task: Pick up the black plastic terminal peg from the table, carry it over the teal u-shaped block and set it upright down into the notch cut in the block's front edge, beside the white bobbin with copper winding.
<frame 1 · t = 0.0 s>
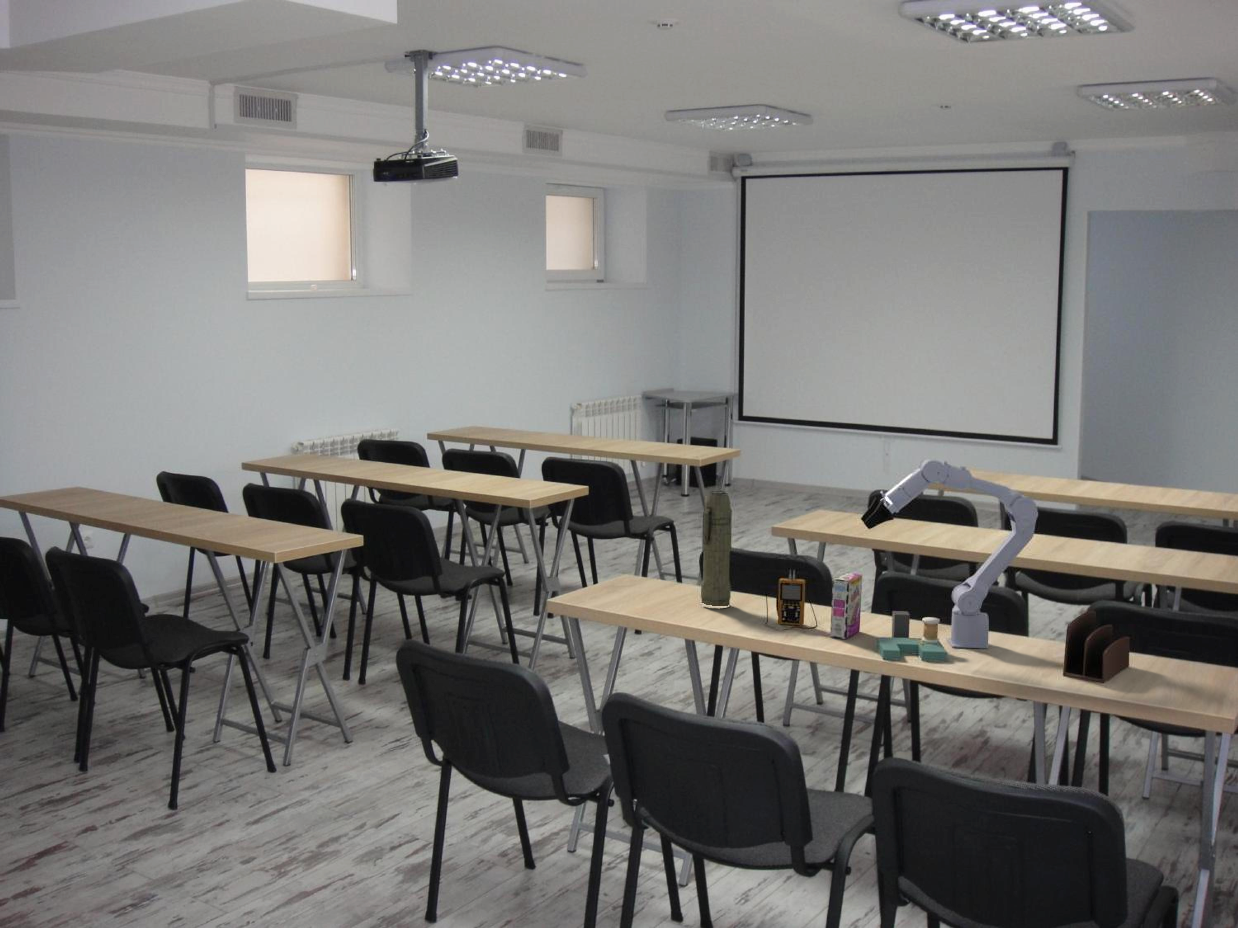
hand: (864, 524, 326), 32 cm above the table, tool tilted 50°, fingers open, 7 cm apart
candy bar box: (845, 635, 337), on the table
letter holder: (1096, 672, 303), on the table
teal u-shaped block: (910, 653, 317), on the table
thermos: (715, 606, 369), on the table
multimeter: (789, 628, 344), on the table
terminal peg: (900, 641, 329), on the table
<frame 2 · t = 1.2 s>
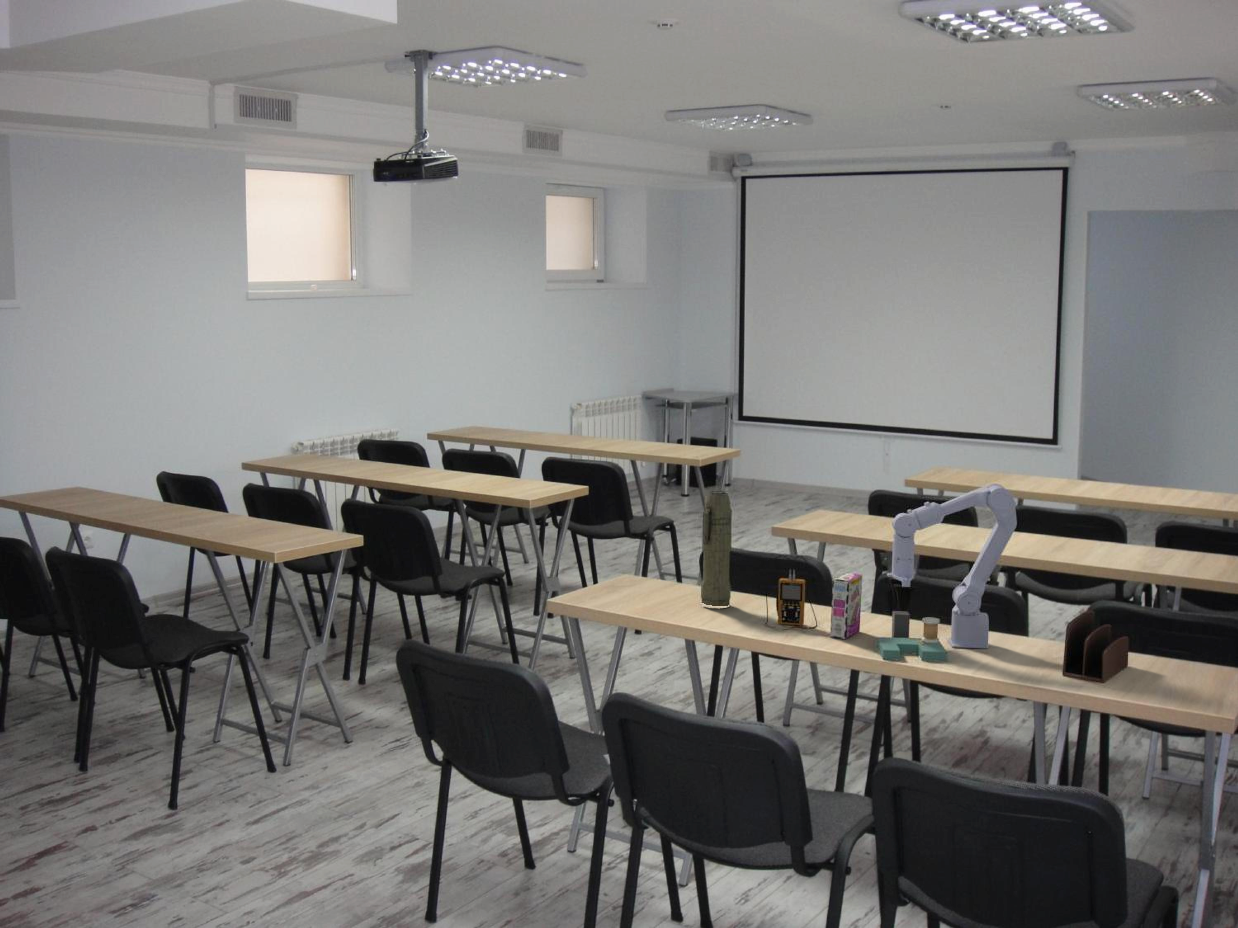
hand: (901, 607, 328), 9 cm above the table, tool pointing down, fingers open, 7 cm apart
nothing on the table moved.
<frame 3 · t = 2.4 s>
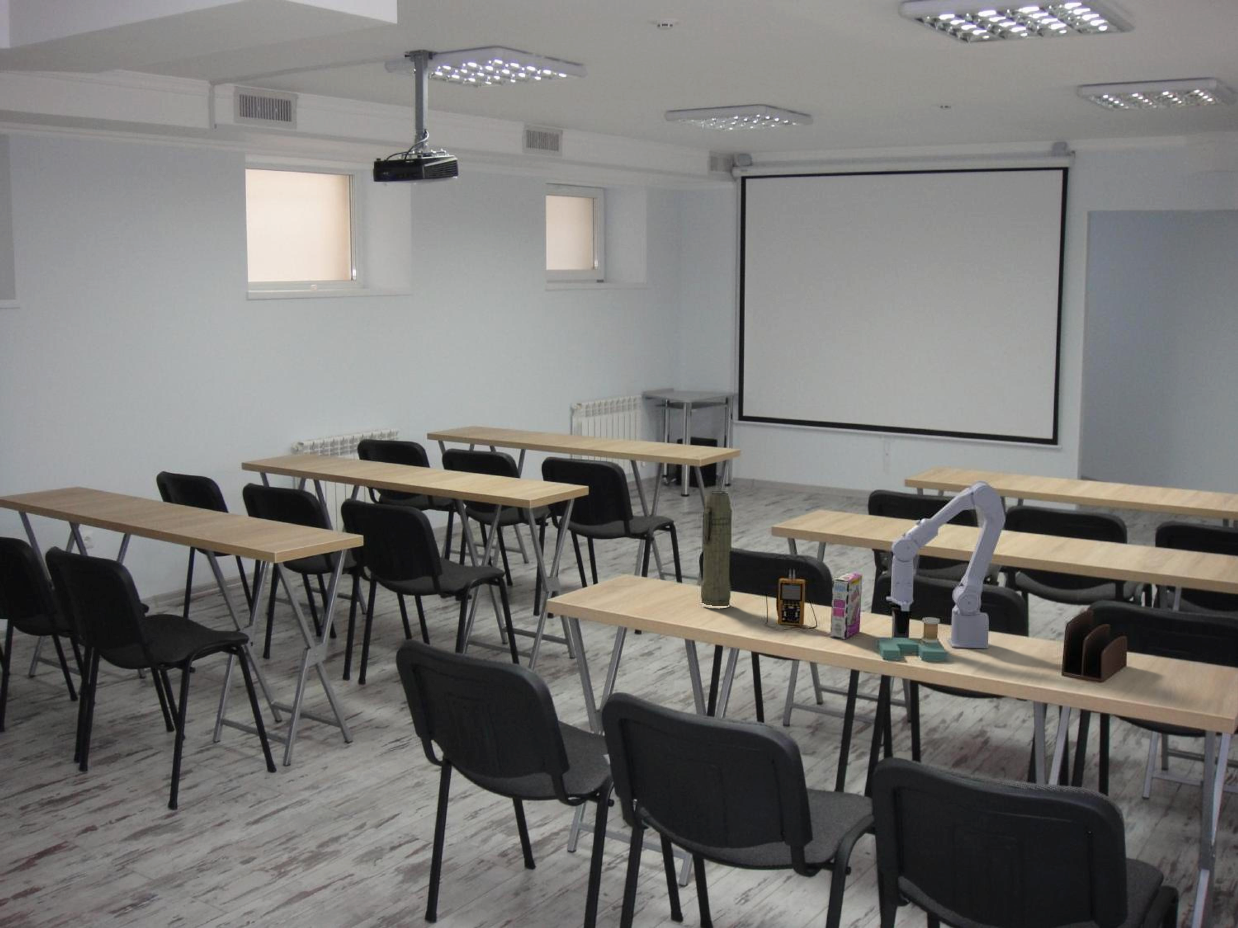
hand: (900, 631, 329), 3 cm above the table, tool pointing down, fingers closed on terminal peg, 4 cm apart
terminal peg: (900, 641, 329), on the table, touching gripper
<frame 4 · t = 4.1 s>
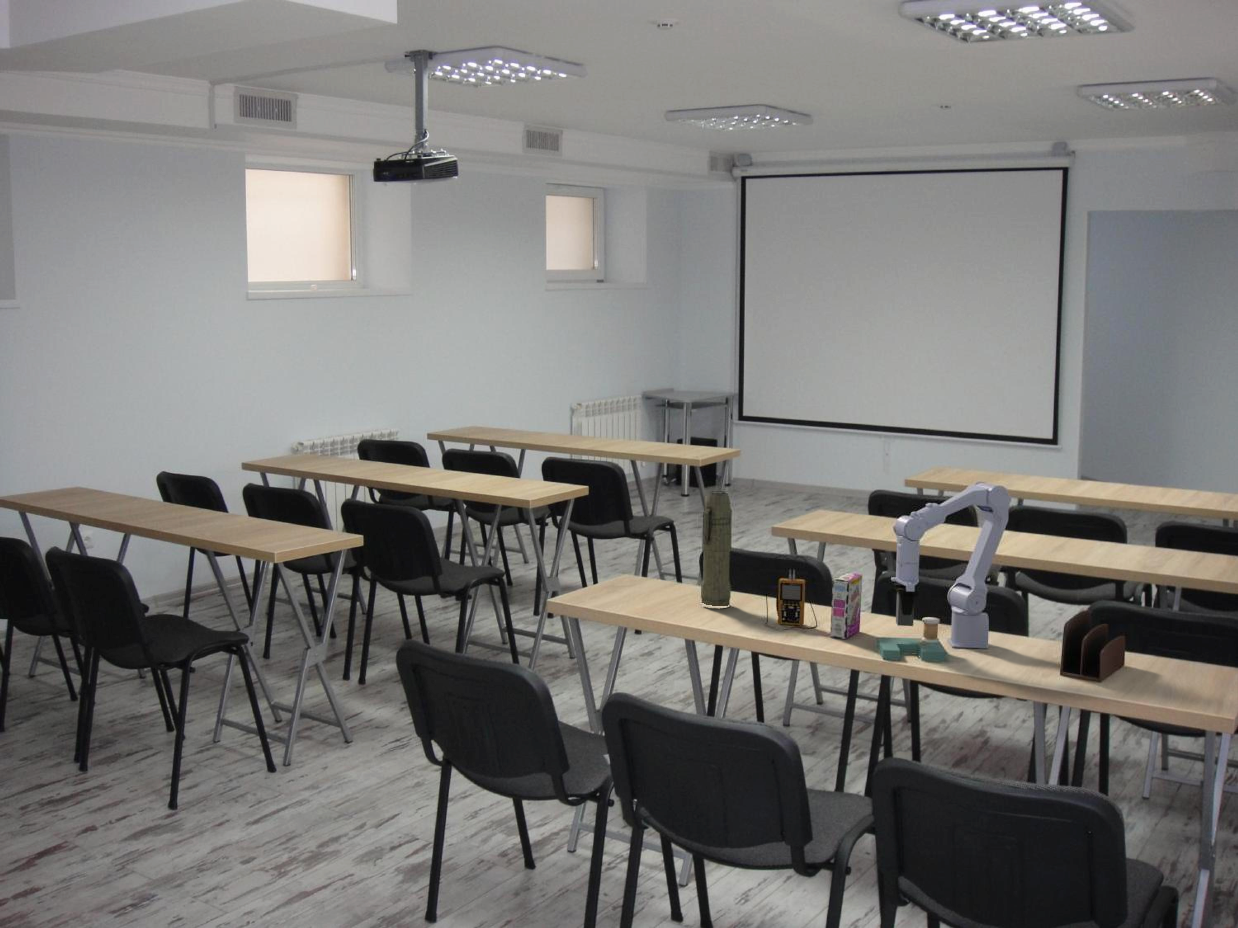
hand: (905, 612, 320), 10 cm above the table, tool pointing down, fingers closed on terminal peg, 4 cm apart
terminal peg: (904, 623, 321), point 7 cm above the table, touching gripper
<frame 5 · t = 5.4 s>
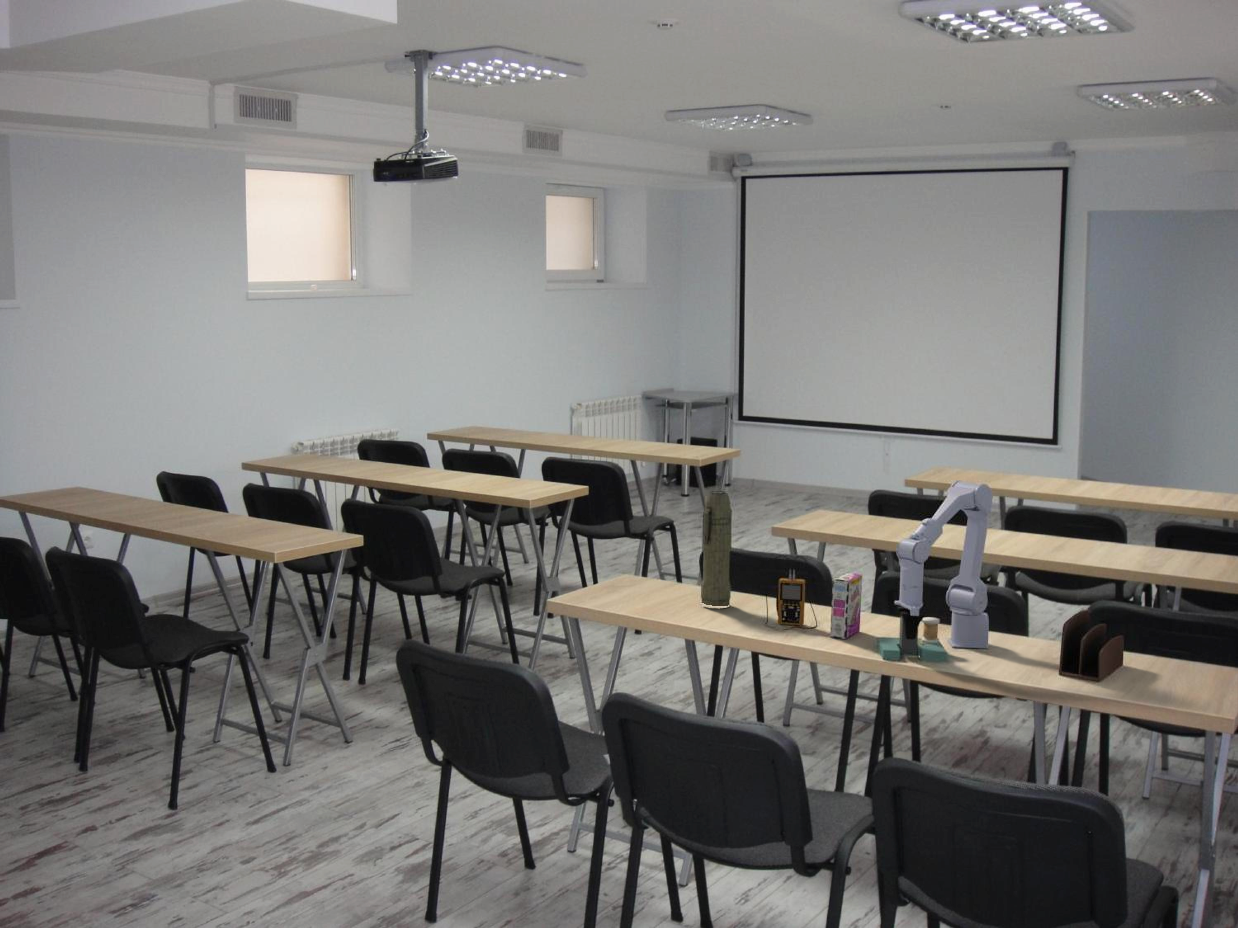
hand: (909, 636, 314), 5 cm above the table, tool pointing down, fingers closed on terminal peg, 4 cm apart
terminal peg: (908, 648, 314), point 2 cm above the table, touching gripper
when the fingers open (4 cm above the table, at t = 6.1 s): terminal peg stays where it is, resting in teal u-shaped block.
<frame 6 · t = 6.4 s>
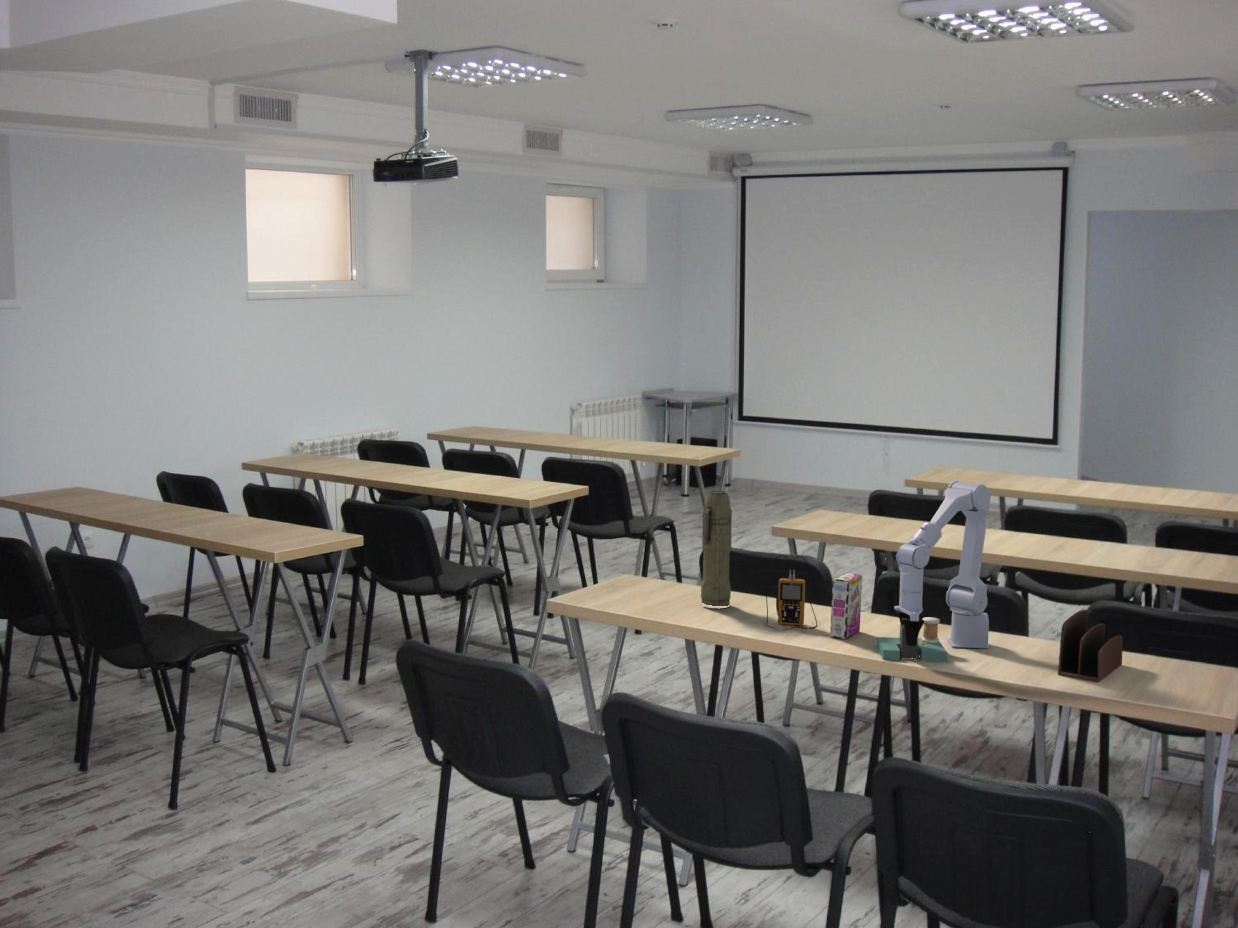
hand: (909, 641, 314), 4 cm above the table, tool pointing down, fingers open, 6 cm apart
terminal peg: (907, 656, 315), resting in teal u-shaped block
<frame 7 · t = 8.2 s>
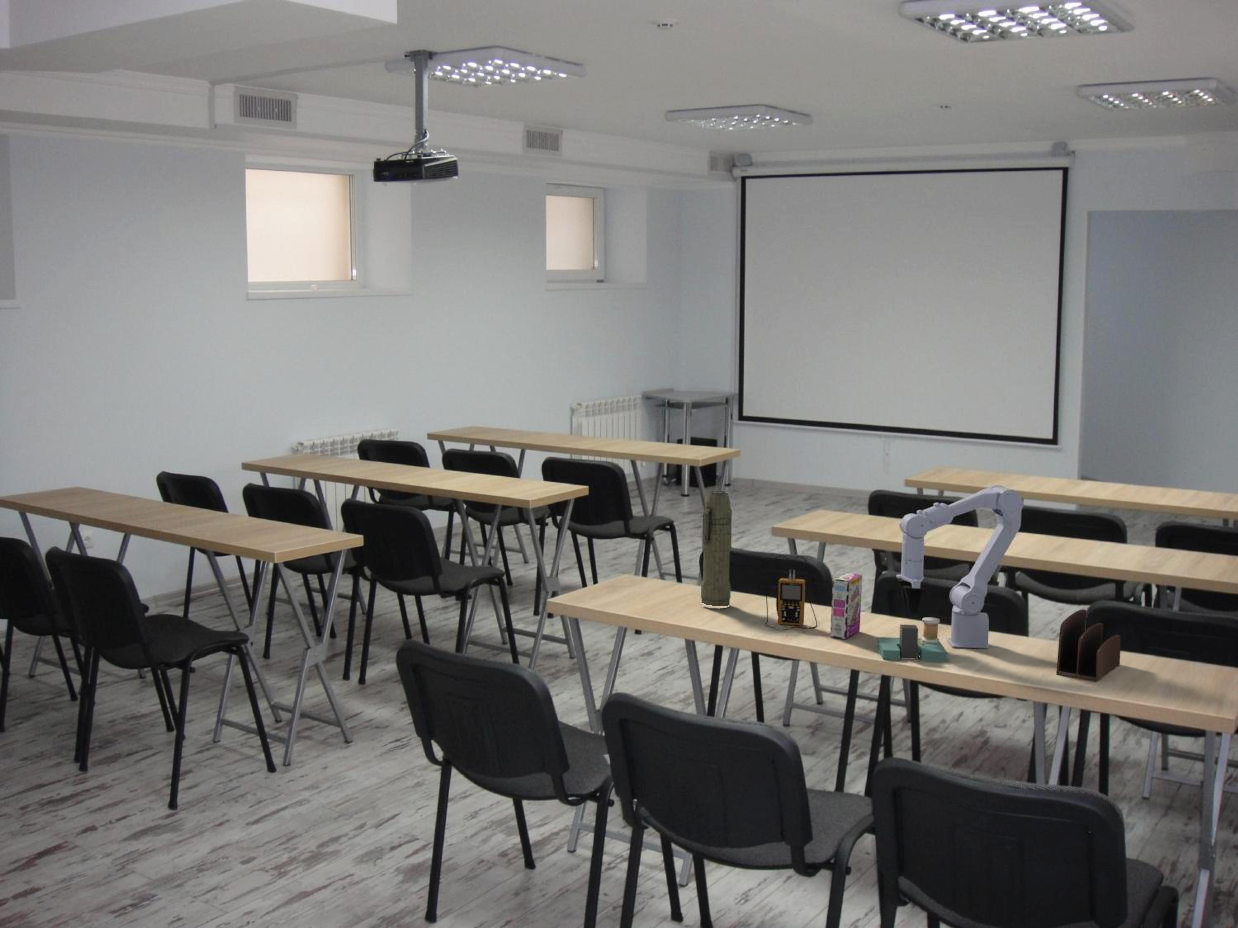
hand: (910, 609, 325), 10 cm above the table, tool pointing down, fingers open, 7 cm apart
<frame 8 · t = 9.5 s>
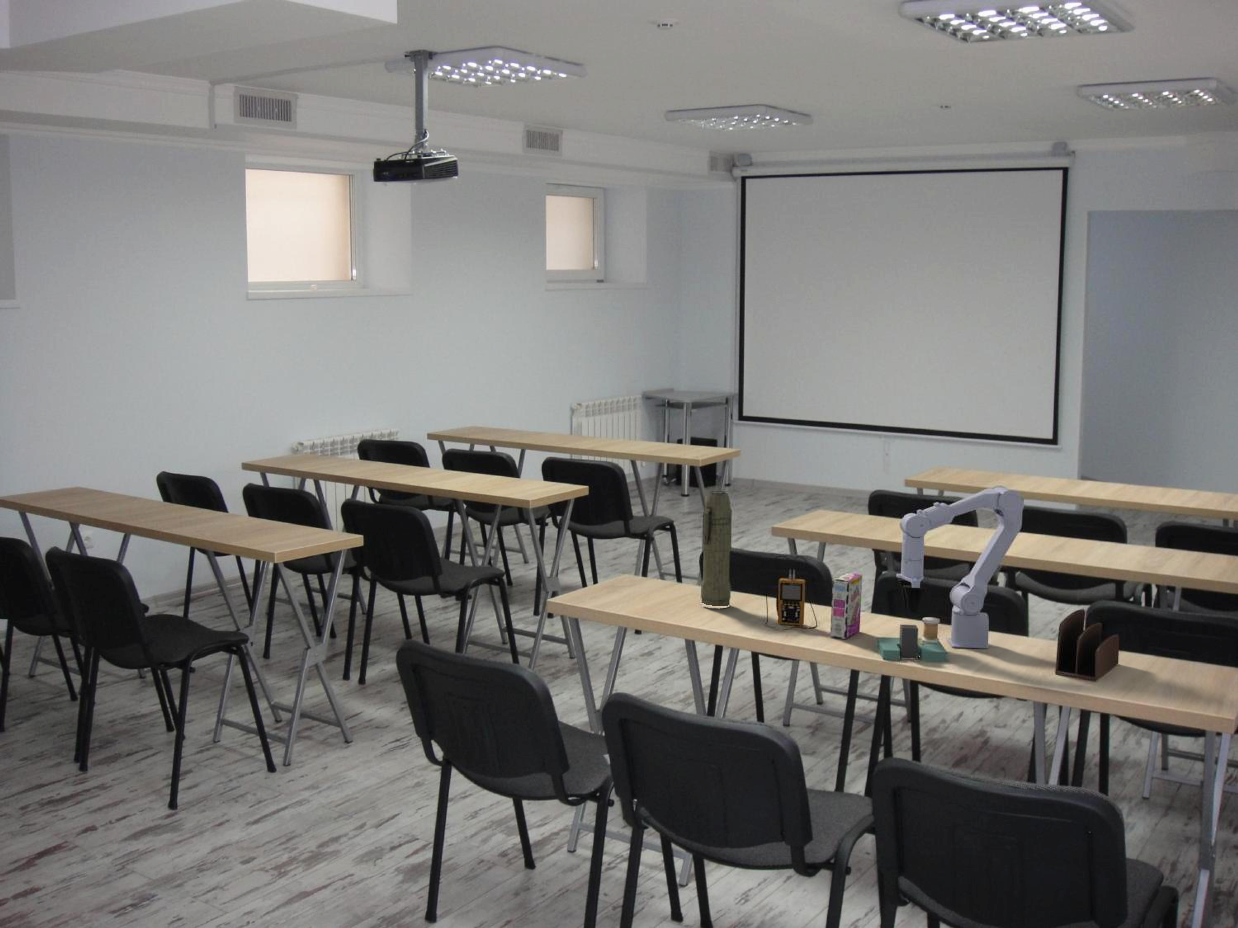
hand: (910, 608, 325), 10 cm above the table, tool pointing down, fingers open, 7 cm apart
at the end: terminal peg 0.2 cm from the target spot, resting in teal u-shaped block; terminal peg tilted 0°; the gripper is holding nothing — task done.
